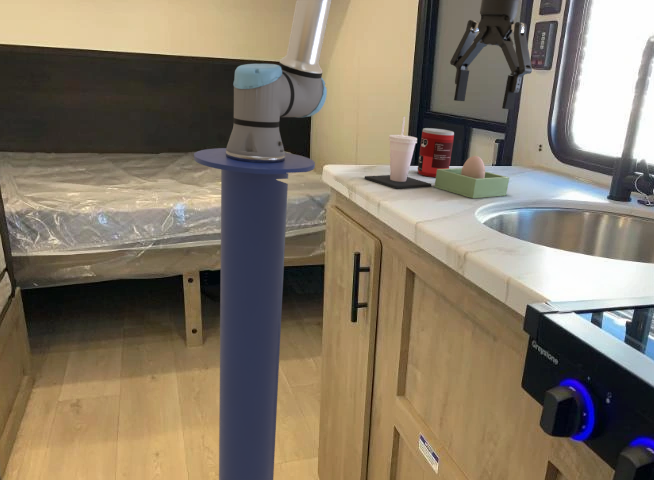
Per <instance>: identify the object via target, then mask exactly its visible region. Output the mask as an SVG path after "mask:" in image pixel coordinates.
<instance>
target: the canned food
mask: <svg viewBox="0 0 654 480" xmlns="http://www.w3.org/2000/svg"><path fill="white" fill-rule="evenodd" d="M421 131H422V132H421V139H420V147H419V153H418V154H419V156H418V164H417V173H418V175H421V176H425V177H429V178H436V173H437V169H450V164H451V158H452V153H453V152H452V151H453V147H454V146H453V145H454V137H455V132H454V131H453V130H448V129H442V128H432V127H430V128H429V127H425V128H422V130H421Z"/></svg>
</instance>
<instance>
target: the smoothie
mask: <svg viewBox="0 0 654 480" xmlns="http://www.w3.org/2000/svg"><path fill="white" fill-rule="evenodd" d="M405 124H406V115H403V116H402V121H401V130H400V134H389V135H388V141H389V175H390V180H393V181H399V182H405V181H406V180H407V177H409V176H408V175H409V171H410V167H411V163H412V159H413V155H414V151H415V147H416V144H418V137H415V136H411V135H404V131H405Z"/></svg>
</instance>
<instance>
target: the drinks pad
mask: <svg viewBox="0 0 654 480" xmlns="http://www.w3.org/2000/svg"><path fill="white" fill-rule="evenodd" d="M364 179H365V180H367V181H370V182H373V183H377V184H380V185H383V186H386V187H388V188H392V189H396V190H399V189H400V190H403V189H415V188H416V189H417V188H429V187H431V188H432V185H433V184H432V183H431V182H426V181H423V180H420V179H416V178H413V177H409V176H407V180H406V181H405V182H399V181H393V180H390V174H385V175H384V174H382V175H365V176H364Z"/></svg>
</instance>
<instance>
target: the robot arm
mask: <svg viewBox="0 0 654 480" xmlns="http://www.w3.org/2000/svg"><path fill="white" fill-rule="evenodd" d="M331 3H332V0H296V1H295V5H294V12H293V18H292V24H291V29H290V35H289V39H288V45H287V50H286V55H284V56H283V57H282V58H280V59H279V62H278V64H274V63H247V64H246V63H245V64H241V65H238V66H237V67H236V69H235V70H234V78H233V79H234V80H233V84H232V85H233V127H232V130H231V133H230V135H229V139H228V142H227V145H226V147H225V148H226V157H228V158H230V159H233V160H238V161H244V162H252V163H279V162H283V161H285V153H286V152H285V147H284V144H283V141H282V137H281V132H280V118H297V119H300V118H301V119H302V118H307V117H313V116H314V115H316V114H318V113H319V112H320V111H321V110H322V109H323V107H324V105H325V103H326V100H327V93H328V90H327V89H328V88H327V87H326V81H325V80H324V78H323V69H322V67H321V66H320V63H319V62H320V58H321V53H322V48H323V43H324V40H325V34H326V29H327V25H328V24H327V23H328V20H329V15H330V9H331V6H332V4H331ZM519 5H520V0H481V2H480V8H479V14H480V20H479V21H478V20H472V19H469V20H468V21H467V24H466V29H465V31H464V33H463V35H462V36H461V37H462V38H461V39H460V42H458V45H457V47H456V48H455V51H454V53H453V55H452V57H451V59H450V61H449V63H450V65H451V66H453V67H454V68H456V71H455V78H454V85H455V91H454V96H453V97H454V99H453V101H455V102H466V101H465V100H466V96H467V95H466V94H467V88H468V82H469V77H470V76H469V75H470V70H469V66H470V65H471V64H472V63H473V61H474V60H475V59H476V58H477V56H478V55H479V54H480V53H481V52H482V50H483V49H484V48H485V47H487V46H496V47H497V46H498V47H499V48H501V51H502V53H503V56H504V58H505V60H506V63H507V65H508V67H509V70H510V72H511V73H509V74H510V75H509V74H508V75H507V79H506V84H505V89H504V96H503V101H502V107H501V108H502V109H504V110H514V106H515V100H516V95H517V94H518V93H519V92H520V89H521V84H522V78H523V76H526V75H530V74H531V73H532V72H533V67H532V61H531V56H530V51H529V46H528V40H527V39H528V38H527V29H528V28H527V26H528V25H527V24H526V23H525V22H519V21H516V22H515V19H516V18H517V16H518V10H519ZM512 34H513V39H512V37H511V35H512ZM513 40H514V42H513ZM514 46H515V47H514Z"/></svg>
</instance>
